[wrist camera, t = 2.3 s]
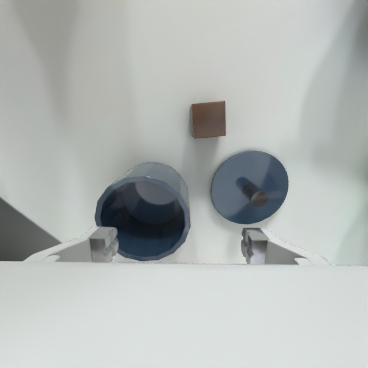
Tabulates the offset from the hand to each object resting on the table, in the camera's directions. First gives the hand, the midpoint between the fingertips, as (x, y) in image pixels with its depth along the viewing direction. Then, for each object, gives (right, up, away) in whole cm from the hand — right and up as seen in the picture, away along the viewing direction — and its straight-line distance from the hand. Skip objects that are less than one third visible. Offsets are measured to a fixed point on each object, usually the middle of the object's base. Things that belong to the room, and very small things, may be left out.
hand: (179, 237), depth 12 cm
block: (+4, +13, +17) cm, 22 cm away
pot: (-5, +1, +21) cm, 22 cm away
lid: (+12, +3, +20) cm, 23 cm away
